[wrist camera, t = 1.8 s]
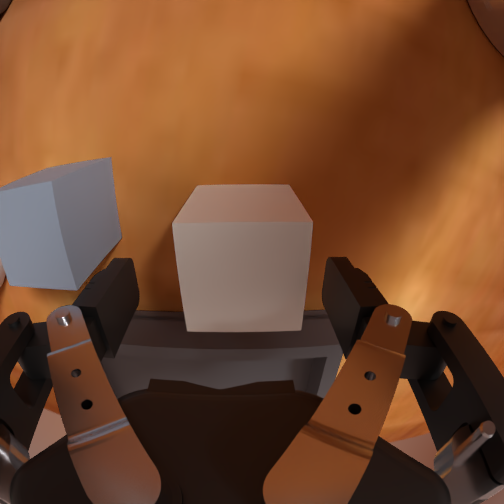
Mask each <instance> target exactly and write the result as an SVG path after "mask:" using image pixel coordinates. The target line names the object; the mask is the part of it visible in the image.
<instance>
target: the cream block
mask: <svg viewBox="0 0 504 504" xmlns="http://www.w3.org/2000/svg"><path fill="white" fill-rule="evenodd" d="M172 228H173V237H174V246H175V254H176V262H177V270H178V277H179V284H180V291H181V297H182V304H183V310H184V316H185V322H186V328H187V331H191V332H271V331H298V330H301V328H302V321H303V313H304V305H305V297H306V289H307V280H308V271H309V262H310V252H311V242H312V230H313V221H312V219H311V218H310V216H309V215H308V213H307V211H306V210H305V208H304V207H303V205H302V204H301V202H300V201H299V199H298V197H297V196H296V194H295V193H294V191H293V190H292V188H291V187H290V185H284V184H232V185H197V186H196V188H195V189H194V191H193V192H192V194H191V195H190V197H189V198H188V200H187V201H186V203H185V204H184V206H183V207H182V209H181V210H180V212H179V213H178V215H177V216H176V218H175V219H174V221H173V223H172Z"/></svg>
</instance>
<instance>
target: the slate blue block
mask: <svg viewBox="0 0 504 504" xmlns="http://www.w3.org/2000/svg"><path fill="white" fill-rule="evenodd" d="M121 238H122V235H121V229H120V223H119V217H118V210H117V203H116V196H115V188H114V180H113V171H112V161H111V157H109V158H102V159H95V160H89V161H83V162H77V163H71V164H66V165H60V166H55V167H50V168H46V169H44V170H41V171H38V172H36V173H33V174H31V175H28V176H26V177H23V178H21V179H19V180H16V181H14V182H12V183H9V184H7V185H5V186H3V187H1V188H0V259H1V262H2V265H3V268H4V270H5V273H6V276H7V279H8V282H9V284H10V286H21V287H33V288H46V289H61V290H78V289H79V288H80V287H81V285H82V284H83V283H84V282H85V280H86V279H87V278H88V277H89V275H90V274H91V273H92V272H93V271H94V269H95V268H96V267H97V266H98V265H99V263H100V262H101V261H102V260H103V259H104V258H105V256H106V255H107V254H108V253H109V252H110V251H111V250H112V248H113V247H114V246H115V245H116V244H117V243H118V242H119V241H120V239H121Z"/></svg>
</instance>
